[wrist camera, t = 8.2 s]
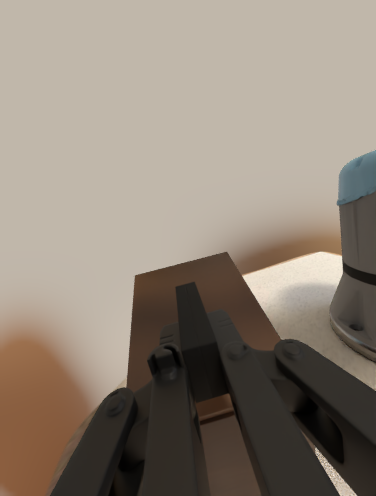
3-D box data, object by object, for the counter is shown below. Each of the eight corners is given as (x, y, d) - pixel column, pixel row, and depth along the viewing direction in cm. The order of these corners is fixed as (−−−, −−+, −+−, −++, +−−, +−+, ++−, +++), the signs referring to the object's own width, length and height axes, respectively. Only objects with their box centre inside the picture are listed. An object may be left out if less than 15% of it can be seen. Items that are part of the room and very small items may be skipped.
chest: (167, 373, 26) (149, 319, 25) (245, 351, 27) (234, 296, 25) (165, 538, 13) (127, 447, 11) (319, 487, 14) (308, 393, 12)
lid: (137, 280, 23) (134, 275, 23) (227, 256, 24) (227, 251, 23) (127, 443, 11) (121, 440, 11) (306, 389, 12) (309, 384, 11)
